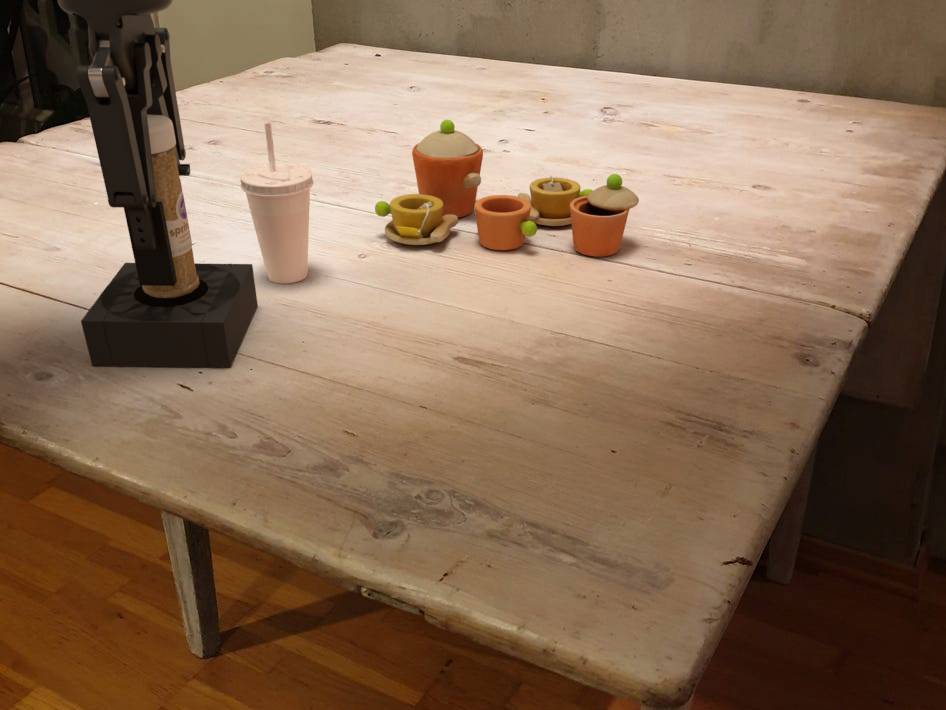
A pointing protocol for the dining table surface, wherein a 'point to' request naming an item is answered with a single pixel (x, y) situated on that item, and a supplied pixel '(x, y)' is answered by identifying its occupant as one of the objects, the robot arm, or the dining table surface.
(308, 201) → the smoothie
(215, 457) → the dining table surface
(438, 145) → the toy tea set
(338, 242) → the dining table surface
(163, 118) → the sprinkles bottle
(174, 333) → the socket pad
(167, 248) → the robot arm
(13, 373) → the dining table surface
